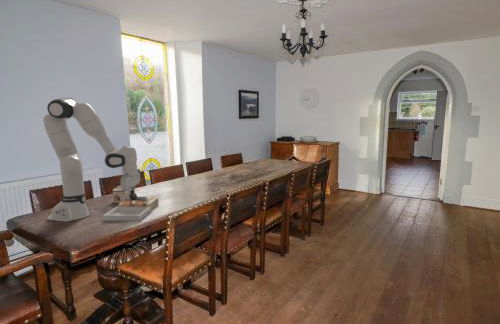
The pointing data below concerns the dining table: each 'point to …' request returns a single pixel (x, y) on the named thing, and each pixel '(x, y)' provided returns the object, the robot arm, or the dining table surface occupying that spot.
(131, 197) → the scraper
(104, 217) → the box
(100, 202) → the dining table surface
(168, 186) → the dining table surface
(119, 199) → the teacup with lid
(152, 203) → the beige rectangular tray
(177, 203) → the dining table surface
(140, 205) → the tile right
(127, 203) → the tile left
